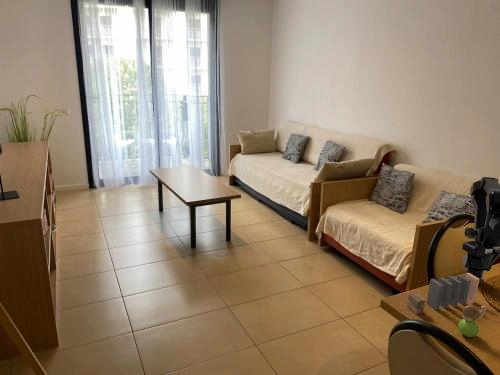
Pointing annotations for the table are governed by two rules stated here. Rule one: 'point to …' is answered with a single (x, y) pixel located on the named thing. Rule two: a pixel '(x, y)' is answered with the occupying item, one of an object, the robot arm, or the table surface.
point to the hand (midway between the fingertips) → (485, 268)
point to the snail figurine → (471, 320)
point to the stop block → (416, 303)
